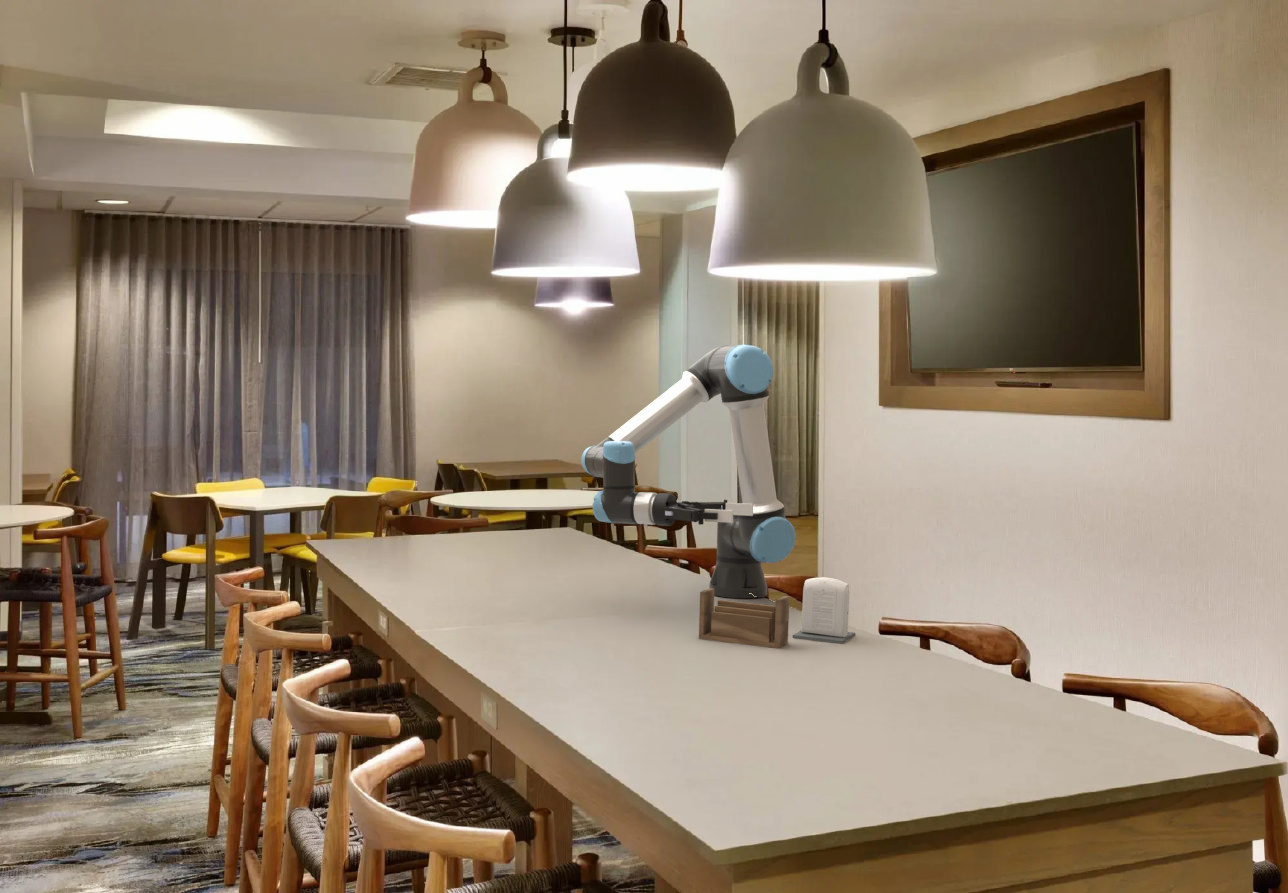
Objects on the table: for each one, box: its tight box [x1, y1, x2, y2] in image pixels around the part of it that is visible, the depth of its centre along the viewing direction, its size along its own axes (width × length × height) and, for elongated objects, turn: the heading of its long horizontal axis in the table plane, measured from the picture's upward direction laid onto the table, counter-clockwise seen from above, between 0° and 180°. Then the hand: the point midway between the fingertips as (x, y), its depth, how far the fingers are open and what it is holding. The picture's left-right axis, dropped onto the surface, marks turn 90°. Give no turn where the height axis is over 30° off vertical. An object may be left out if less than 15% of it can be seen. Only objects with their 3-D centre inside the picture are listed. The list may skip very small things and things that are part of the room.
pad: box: [792, 630, 856, 644], centre depth 261 cm, size 10×11×1 cm
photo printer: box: [800, 576, 850, 637], centre depth 260 cm, size 10×4×12 cm, turn 64°
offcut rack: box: [698, 587, 790, 649], centre depth 254 cm, size 6×18×10 cm, turn 64°
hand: (743, 513), depth 272 cm, fingers open, 13 cm apart
